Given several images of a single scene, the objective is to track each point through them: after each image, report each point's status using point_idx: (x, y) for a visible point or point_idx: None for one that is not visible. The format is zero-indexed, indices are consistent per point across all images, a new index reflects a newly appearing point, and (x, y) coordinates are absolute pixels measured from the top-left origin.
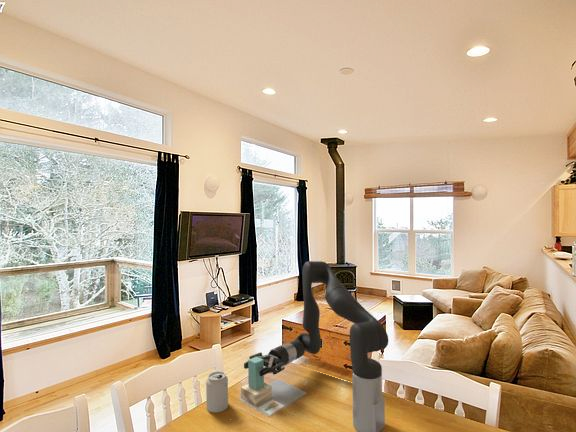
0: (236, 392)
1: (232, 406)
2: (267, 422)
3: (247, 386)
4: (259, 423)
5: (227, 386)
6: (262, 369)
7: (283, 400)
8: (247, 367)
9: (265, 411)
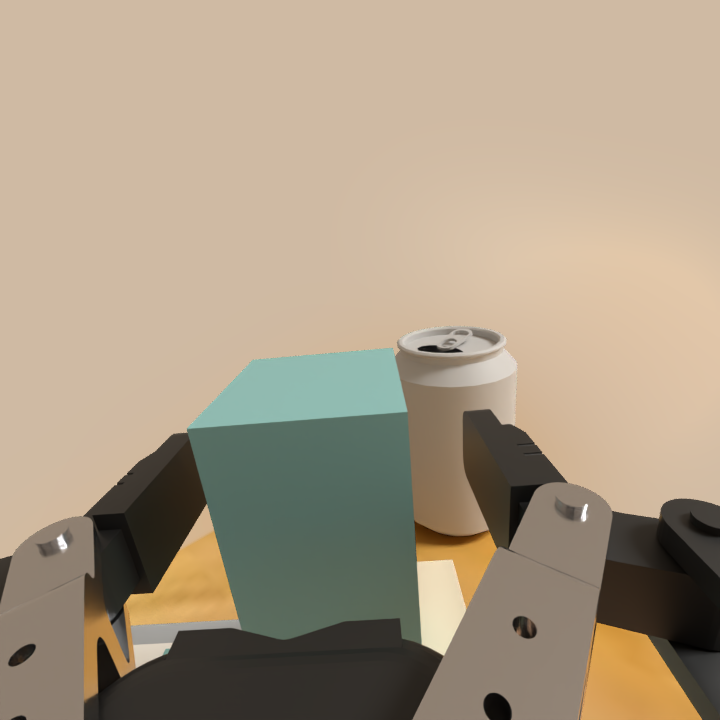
0: (607, 692)
1: (420, 559)
2: (131, 610)
3: (424, 606)
4: (179, 574)
5: (409, 419)
6: (163, 446)
7: None
8: (472, 483)
9: (170, 647)
